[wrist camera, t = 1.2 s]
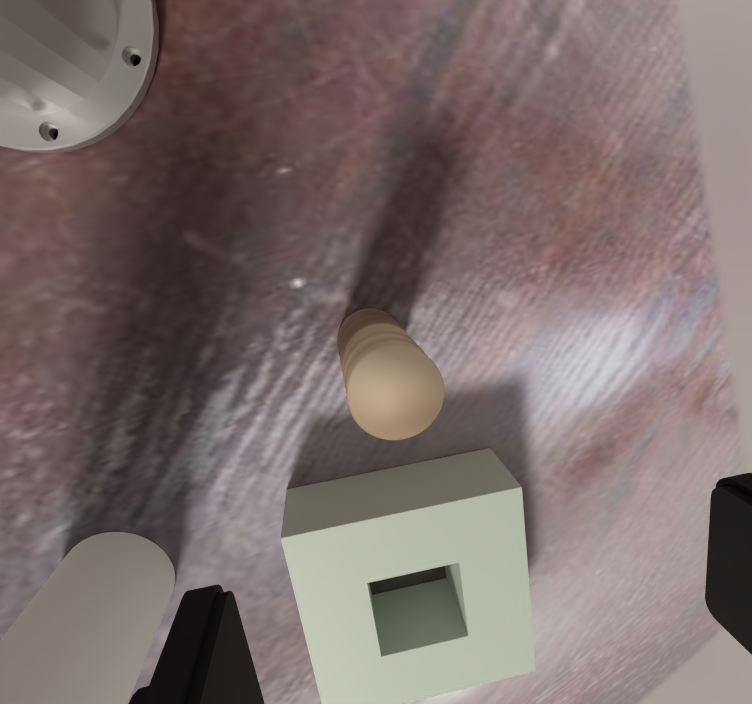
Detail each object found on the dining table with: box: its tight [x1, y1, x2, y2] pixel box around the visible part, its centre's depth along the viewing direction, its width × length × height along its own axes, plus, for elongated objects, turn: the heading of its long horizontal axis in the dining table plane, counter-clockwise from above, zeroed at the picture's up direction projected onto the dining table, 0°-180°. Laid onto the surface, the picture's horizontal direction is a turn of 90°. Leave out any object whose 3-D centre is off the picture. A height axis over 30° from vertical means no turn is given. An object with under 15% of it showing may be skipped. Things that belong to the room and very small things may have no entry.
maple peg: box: [337, 308, 444, 440], centre depth 23 cm, size 4×4×10 cm
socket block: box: [281, 448, 536, 704], centre depth 30 cm, size 14×14×5 cm
